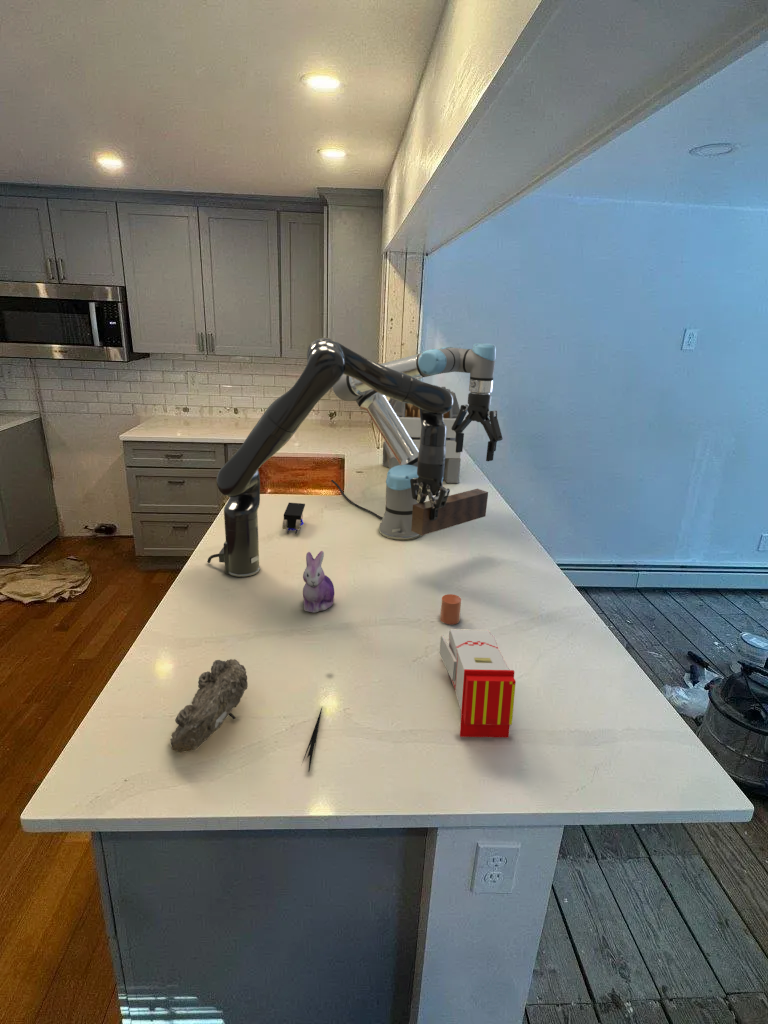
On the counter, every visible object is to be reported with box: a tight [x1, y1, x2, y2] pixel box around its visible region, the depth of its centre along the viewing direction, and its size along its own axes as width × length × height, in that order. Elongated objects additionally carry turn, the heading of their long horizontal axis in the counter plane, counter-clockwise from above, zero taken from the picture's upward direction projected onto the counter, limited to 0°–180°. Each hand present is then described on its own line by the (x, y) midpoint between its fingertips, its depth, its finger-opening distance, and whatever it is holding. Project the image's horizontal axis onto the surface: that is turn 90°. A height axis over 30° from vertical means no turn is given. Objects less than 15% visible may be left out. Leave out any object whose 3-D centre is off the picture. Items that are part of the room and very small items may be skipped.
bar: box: [411, 488, 489, 537], centre depth 169 cm, size 28×4×8 cm, turn 131°
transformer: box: [381, 386, 465, 484], centre depth 268 cm, size 34×33×41 cm
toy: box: [438, 628, 517, 738], centre depth 117 cm, size 12×13×30 cm
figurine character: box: [282, 502, 306, 535], centre depth 199 cm, size 7×8×15 cm
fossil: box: [170, 658, 249, 753], centre depth 106 cm, size 22×10×15 cm
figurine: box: [302, 550, 335, 613], centre depth 147 cm, size 9×10×15 cm
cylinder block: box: [439, 593, 462, 626], centre depth 145 cm, size 5×5×6 cm
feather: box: [301, 673, 332, 771], centre depth 108 cm, size 2×28×2 cm
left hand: (427, 517), depth 163 cm, fingers closed on bar, 4 cm apart
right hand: (473, 456), depth 192 cm, fingers open, 13 cm apart
